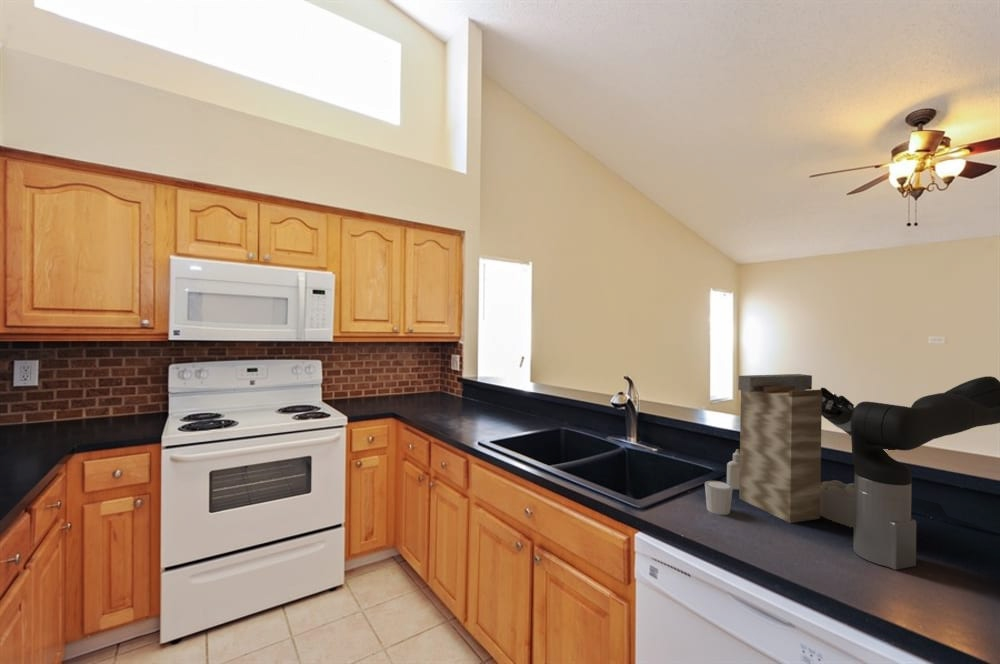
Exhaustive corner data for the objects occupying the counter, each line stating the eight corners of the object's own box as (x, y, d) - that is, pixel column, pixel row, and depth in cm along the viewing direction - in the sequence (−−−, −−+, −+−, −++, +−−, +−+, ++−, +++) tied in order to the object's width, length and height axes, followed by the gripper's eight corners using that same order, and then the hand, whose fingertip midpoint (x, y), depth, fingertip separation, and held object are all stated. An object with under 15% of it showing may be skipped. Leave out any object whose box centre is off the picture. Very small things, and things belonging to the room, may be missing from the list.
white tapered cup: (730, 518, 112) (730, 491, 112) (701, 511, 116) (701, 485, 116) (734, 509, 117) (734, 483, 117) (707, 503, 122) (707, 478, 122)
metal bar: (811, 389, 124) (811, 375, 124) (750, 391, 118) (750, 377, 118) (798, 387, 128) (798, 374, 128) (738, 389, 122) (738, 375, 122)
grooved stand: (820, 518, 112) (821, 390, 112) (790, 522, 109) (791, 391, 109) (766, 495, 128) (768, 382, 127) (739, 498, 125) (740, 383, 125)
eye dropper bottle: (747, 492, 130) (748, 452, 130) (726, 488, 133) (727, 450, 132) (746, 487, 134) (747, 448, 134) (726, 484, 136) (726, 446, 136)
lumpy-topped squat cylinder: (858, 531, 105) (859, 496, 105) (805, 510, 118) (805, 478, 117) (886, 525, 109) (886, 491, 109) (831, 505, 121) (831, 474, 121)
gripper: (861, 430, 123) (825, 403, 119) (813, 419, 137) (779, 395, 133) (872, 407, 124) (836, 380, 120) (823, 399, 138) (789, 374, 134)
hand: (806, 388), depth 127 cm, fingers open, 8 cm apart
